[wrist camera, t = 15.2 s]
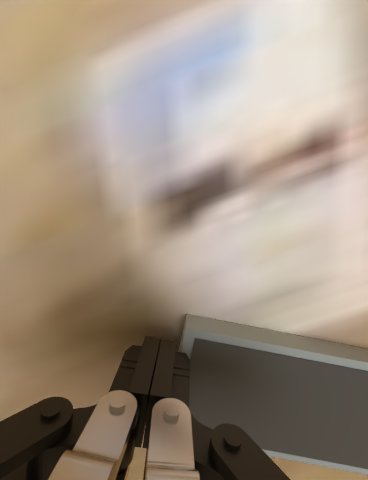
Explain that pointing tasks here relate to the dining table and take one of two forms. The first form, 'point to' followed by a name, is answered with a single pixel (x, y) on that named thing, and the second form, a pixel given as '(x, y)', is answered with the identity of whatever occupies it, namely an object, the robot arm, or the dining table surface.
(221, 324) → the phone
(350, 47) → the dining table surface
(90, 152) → the dining table surface
